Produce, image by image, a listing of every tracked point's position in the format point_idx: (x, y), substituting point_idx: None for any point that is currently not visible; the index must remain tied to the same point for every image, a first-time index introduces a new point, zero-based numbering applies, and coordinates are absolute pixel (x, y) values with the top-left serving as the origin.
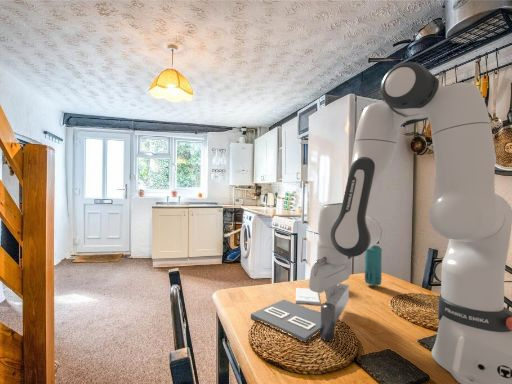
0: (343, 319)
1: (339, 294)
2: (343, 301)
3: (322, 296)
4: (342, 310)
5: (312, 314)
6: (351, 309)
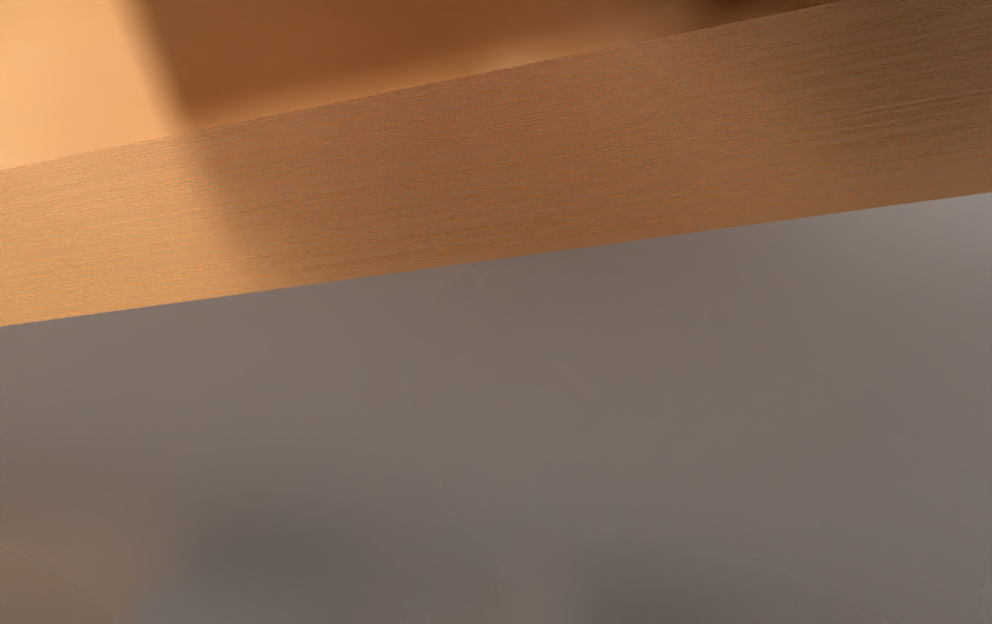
0: (569, 23)
1: (974, 409)
2: (590, 108)
3: None
4: (750, 25)
5: None
6: (15, 82)
